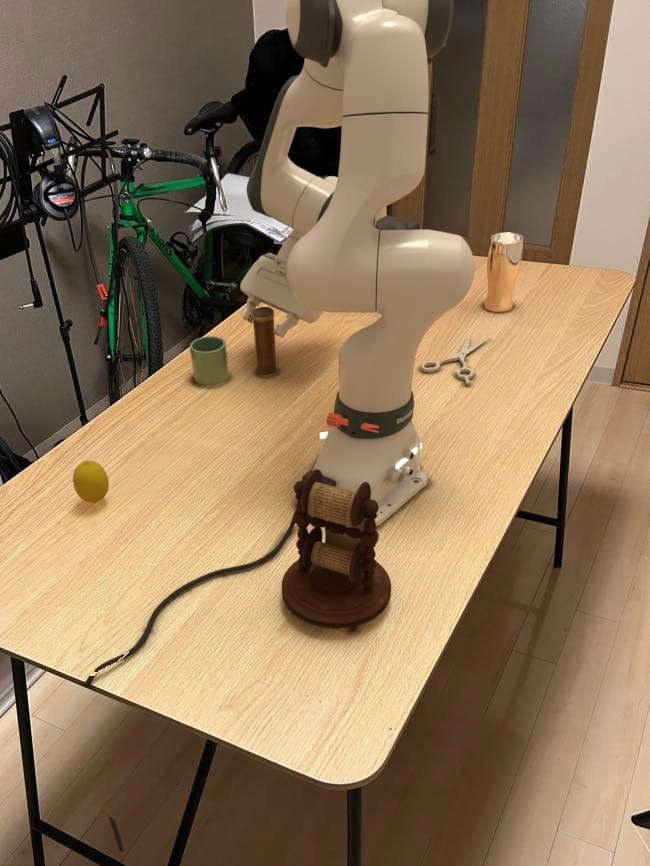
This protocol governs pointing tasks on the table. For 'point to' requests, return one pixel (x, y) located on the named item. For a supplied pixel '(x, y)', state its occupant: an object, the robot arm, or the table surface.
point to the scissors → (458, 356)
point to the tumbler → (209, 360)
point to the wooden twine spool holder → (335, 557)
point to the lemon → (90, 481)
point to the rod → (264, 340)
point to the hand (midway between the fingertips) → (262, 328)
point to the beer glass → (502, 270)
